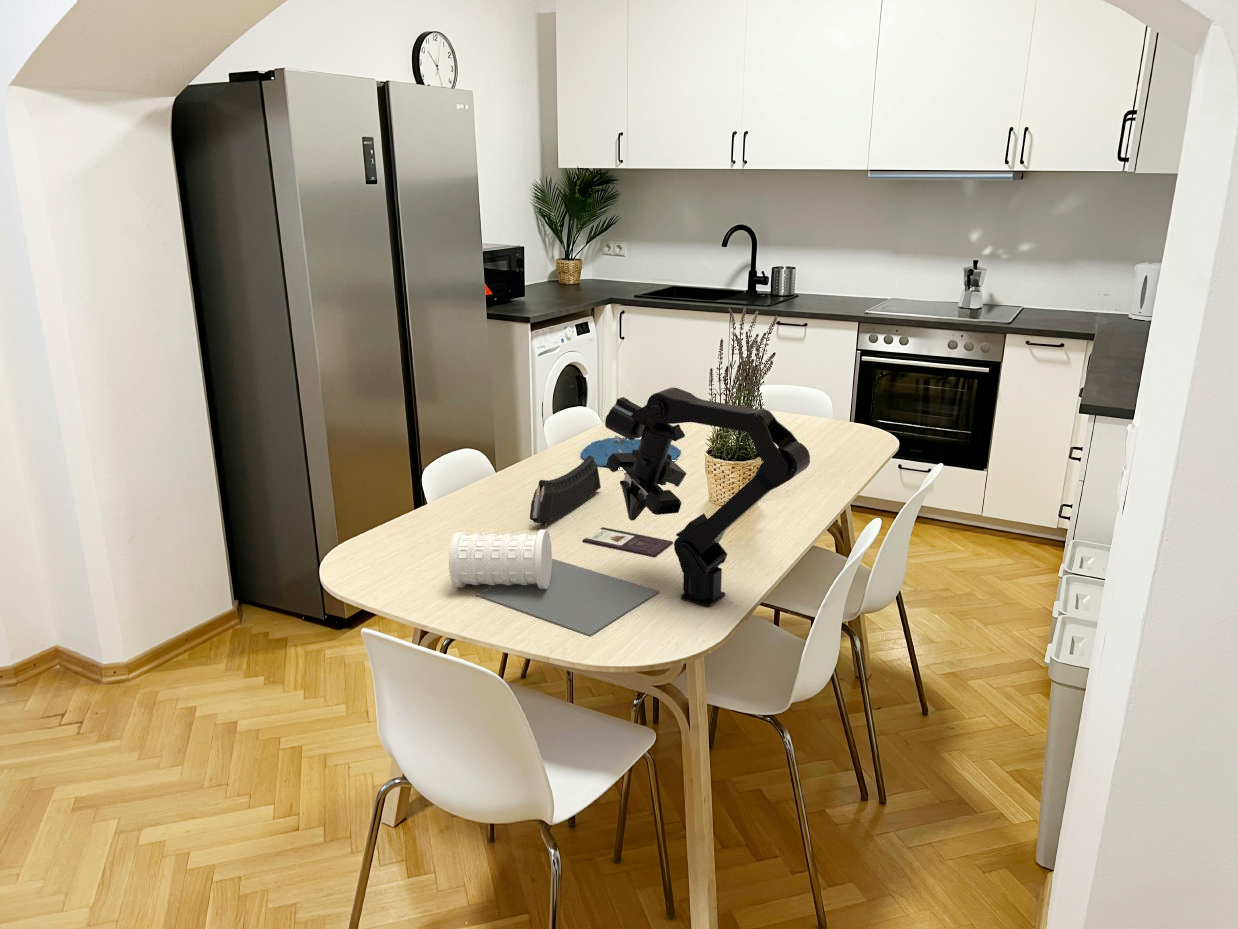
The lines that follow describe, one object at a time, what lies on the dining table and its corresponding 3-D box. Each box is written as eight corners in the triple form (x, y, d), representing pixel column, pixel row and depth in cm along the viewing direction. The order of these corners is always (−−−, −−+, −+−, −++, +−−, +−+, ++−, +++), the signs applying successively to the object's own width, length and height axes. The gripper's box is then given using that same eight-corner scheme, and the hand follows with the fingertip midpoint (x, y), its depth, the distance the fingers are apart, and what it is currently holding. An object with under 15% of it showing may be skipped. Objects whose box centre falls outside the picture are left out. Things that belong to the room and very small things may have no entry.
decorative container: (550, 523, 179) (462, 524, 181) (540, 537, 168) (446, 538, 170) (553, 579, 181) (466, 579, 183) (542, 596, 170) (450, 597, 172)
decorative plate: (702, 465, 259) (703, 448, 257) (613, 481, 244) (613, 463, 242) (648, 438, 283) (649, 422, 281) (564, 450, 268) (564, 434, 266)
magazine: (593, 455, 232) (536, 451, 204) (605, 457, 231) (548, 453, 203) (585, 520, 232) (527, 525, 205) (597, 522, 231) (540, 528, 204)
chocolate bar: (654, 555, 190) (582, 539, 199) (654, 559, 191) (582, 543, 199) (673, 541, 198) (602, 527, 206) (672, 545, 198) (602, 530, 207)
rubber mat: (659, 592, 174) (659, 590, 174) (590, 636, 157) (590, 635, 157) (549, 559, 190) (549, 557, 190) (476, 595, 173) (475, 594, 173)
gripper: (713, 473, 168) (690, 542, 174) (660, 426, 181) (640, 492, 188) (666, 476, 161) (643, 547, 168) (614, 427, 174) (595, 495, 181)
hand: (631, 519), depth 176 cm, fingers closed
